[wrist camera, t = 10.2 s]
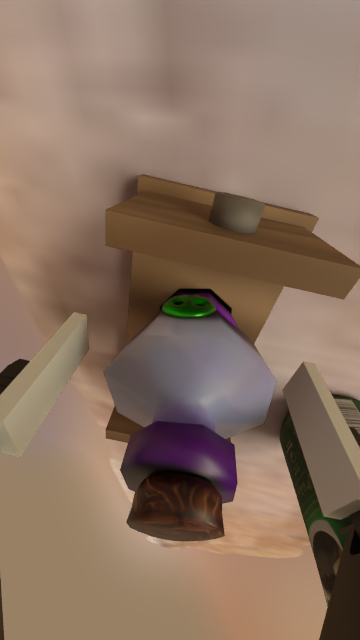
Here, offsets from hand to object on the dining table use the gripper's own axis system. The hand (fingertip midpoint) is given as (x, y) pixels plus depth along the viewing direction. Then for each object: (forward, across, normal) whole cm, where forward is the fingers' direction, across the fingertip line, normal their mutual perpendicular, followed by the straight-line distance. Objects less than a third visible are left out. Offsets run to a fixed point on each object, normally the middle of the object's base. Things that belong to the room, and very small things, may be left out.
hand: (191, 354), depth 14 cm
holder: (+5, 0, 0) cm, 5 cm away
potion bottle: (+4, 0, 0) cm, 4 cm away
